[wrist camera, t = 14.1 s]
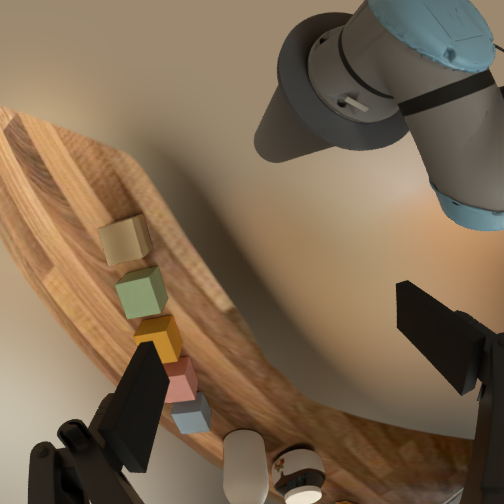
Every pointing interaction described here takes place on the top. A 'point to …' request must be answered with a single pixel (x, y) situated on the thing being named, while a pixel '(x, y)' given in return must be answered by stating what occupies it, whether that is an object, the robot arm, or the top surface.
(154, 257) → the top surface
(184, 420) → the blue-grey block
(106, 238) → the birch block
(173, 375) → the dusty pink block
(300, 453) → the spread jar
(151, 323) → the ochre block
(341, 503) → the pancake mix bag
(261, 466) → the milk bottle
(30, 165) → the top surface
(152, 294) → the sage block
